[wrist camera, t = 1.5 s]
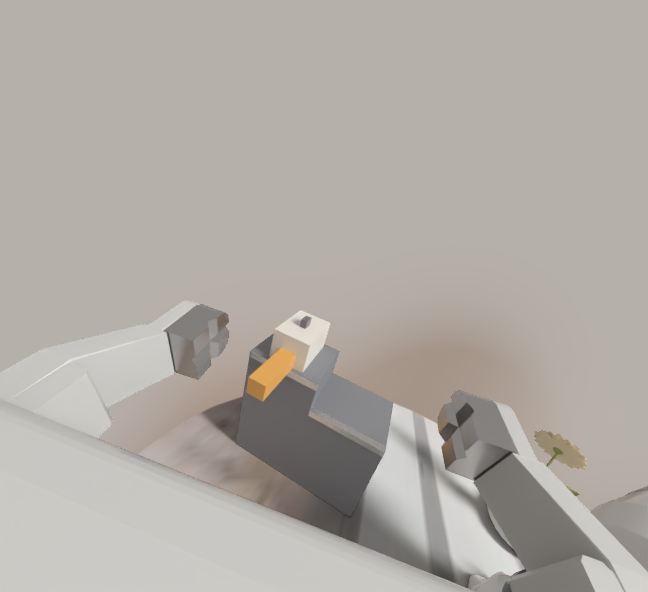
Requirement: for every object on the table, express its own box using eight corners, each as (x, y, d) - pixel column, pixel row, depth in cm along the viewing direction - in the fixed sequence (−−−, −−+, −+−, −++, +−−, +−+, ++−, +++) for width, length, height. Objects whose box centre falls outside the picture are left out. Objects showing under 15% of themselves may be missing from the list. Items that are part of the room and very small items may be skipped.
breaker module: (274, 408, 34) (283, 367, 31) (235, 386, 36) (240, 345, 33) (323, 346, 51) (332, 316, 48) (295, 333, 53) (302, 303, 50)
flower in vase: (556, 557, 49) (648, 486, 40) (520, 574, 45) (614, 499, 36) (499, 486, 61) (560, 418, 51) (467, 495, 57) (527, 422, 47)
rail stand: (349, 518, 47) (398, 427, 37) (235, 443, 54) (250, 351, 44) (363, 462, 57) (404, 380, 47) (266, 406, 65) (283, 325, 55)
